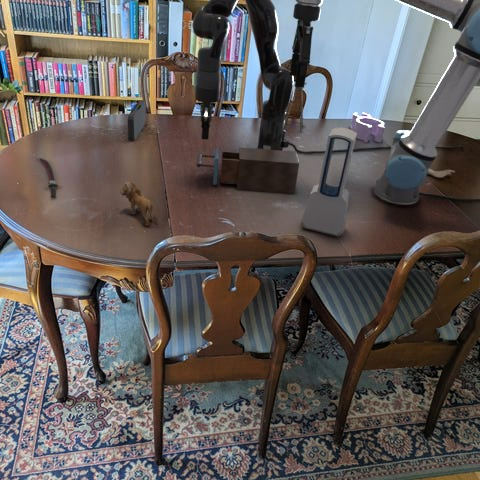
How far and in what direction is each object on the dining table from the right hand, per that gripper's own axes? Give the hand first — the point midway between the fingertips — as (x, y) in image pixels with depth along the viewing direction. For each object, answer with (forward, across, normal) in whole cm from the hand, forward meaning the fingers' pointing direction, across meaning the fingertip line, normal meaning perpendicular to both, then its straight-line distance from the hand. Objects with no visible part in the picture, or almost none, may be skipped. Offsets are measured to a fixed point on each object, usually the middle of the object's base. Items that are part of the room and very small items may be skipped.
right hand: (296, 81), depth 143 cm
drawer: (+35, 0, -17) cm, 39 cm away
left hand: (+21, 0, -27) cm, 34 cm away
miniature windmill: (+36, -62, +12) cm, 72 cm away
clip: (+36, -60, +45) cm, 83 cm away
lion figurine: (+36, +27, -44) cm, 63 cm away
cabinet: (+36, 0, -6) cm, 36 cm away
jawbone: (+36, -26, +63) cm, 77 cm away
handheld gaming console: (+36, -41, -56) cm, 78 cm away
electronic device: (+36, +27, +10) cm, 46 cm away
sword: (+36, +6, -77) cm, 85 cm away
